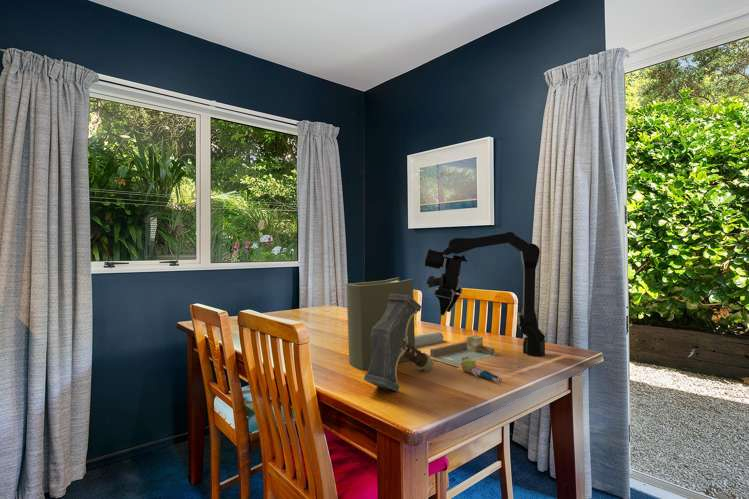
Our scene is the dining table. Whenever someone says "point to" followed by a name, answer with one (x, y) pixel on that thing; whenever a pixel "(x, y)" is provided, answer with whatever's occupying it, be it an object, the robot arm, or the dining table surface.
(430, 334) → the tube
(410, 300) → the hammer
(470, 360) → the figurine
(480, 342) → the wooden block with peg
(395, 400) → the dining table surface
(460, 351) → the board
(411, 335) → the book
